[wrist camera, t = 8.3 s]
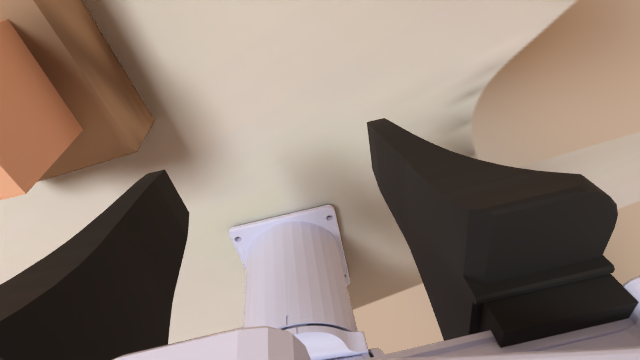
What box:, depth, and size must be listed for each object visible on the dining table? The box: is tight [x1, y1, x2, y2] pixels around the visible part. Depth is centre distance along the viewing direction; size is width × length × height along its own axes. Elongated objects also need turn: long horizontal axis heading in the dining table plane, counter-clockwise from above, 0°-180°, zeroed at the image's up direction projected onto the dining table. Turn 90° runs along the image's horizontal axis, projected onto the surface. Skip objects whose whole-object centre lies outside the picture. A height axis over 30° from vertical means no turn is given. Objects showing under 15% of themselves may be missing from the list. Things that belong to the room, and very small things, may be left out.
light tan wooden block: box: [0, 0, 154, 182], centre depth 17 cm, size 9×9×4 cm
